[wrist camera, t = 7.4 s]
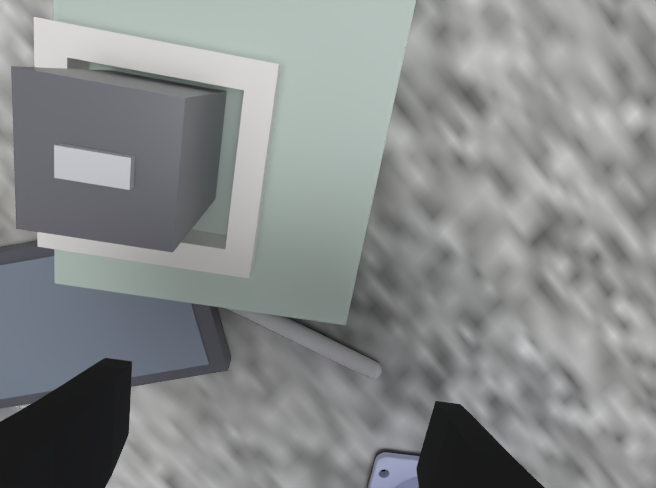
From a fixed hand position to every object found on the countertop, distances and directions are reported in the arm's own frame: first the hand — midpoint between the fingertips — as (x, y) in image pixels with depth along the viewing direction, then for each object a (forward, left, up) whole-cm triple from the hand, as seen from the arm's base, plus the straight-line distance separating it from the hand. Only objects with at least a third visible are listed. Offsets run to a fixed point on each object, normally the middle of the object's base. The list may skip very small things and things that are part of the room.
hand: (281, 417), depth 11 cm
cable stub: (-3, 0, -10) cm, 10 cm away
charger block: (+5, +6, -9) cm, 11 cm away
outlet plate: (+6, +4, -10) cm, 12 cm away
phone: (-4, +9, -10) cm, 14 cm away
